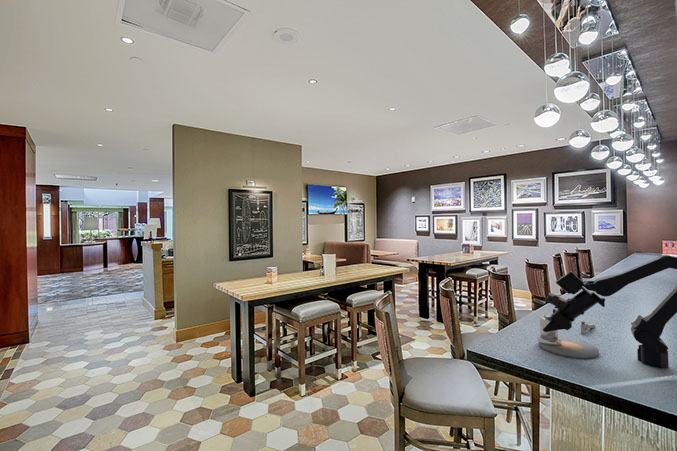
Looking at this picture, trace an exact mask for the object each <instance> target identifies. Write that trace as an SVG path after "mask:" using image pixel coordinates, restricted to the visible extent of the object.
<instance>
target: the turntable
mask: <svg viewBox="0 0 677 451" xmlns="http://www.w3.org/2000/svg"><path fill="white" fill-rule="evenodd" d="M558 338H559V339H561V345H560V346H549V345H544V344H541V343H539V342H538V345H539V347H540V348H541V349H543V350H545V351H547V352H549V353H551V354H555V355H559V356H563V357H568V358H575V359H594V358H595V359H596V358H597V357H599V356H600V350H599V349H598V347H597V346H595V345H592V344H591V343H588V342H585V341H582V340H578V339H575V338H574V339H573V338H568V337H562V336H560V337H559V336H558Z"/></svg>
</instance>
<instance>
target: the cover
mask: <svg viewBox="0 0 677 451" xmlns="http://www.w3.org/2000/svg"><path fill="white" fill-rule="evenodd" d="M551 320H552V319H551V315H549V314H548V315H547V314H545V315H543V316H540V317H539V335H537V337H536V338H537V342H538V344H539V343H541V344H544V345H549V346H560V345H561V339H559V338H558V337H559V336H558V335H559V334H558V333H559V330H555V331H549V332H544V331H543V329H544V328H545V326H546V325H547V324H548V323H549V322H550V321H551Z"/></svg>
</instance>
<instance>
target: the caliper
mask: <svg viewBox="0 0 677 451" xmlns="http://www.w3.org/2000/svg"><path fill="white" fill-rule="evenodd" d="M595 327H596V326H595V324H591V323H590V324H587V323H586V321H581V323H580V335H585V334H586V333H587V332H588V331H589V329H594V328H595ZM586 331H587V332H586Z"/></svg>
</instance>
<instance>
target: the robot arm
mask: <svg viewBox="0 0 677 451" xmlns="http://www.w3.org/2000/svg"><path fill="white" fill-rule="evenodd" d="M667 269H673V270H677V256H673V255H669V254H662V255H659V256H657V257H656V258H654V259H651V260H649V261H646V262H643V263H642V264H639V265H637V266H635V267H632V268H629V269H628V270H625V271H622V272H619V273H616V274H610V275H606V276H602V277H598V278H597V279H595V280H584V281H583V280H582V279H581V278H579V277H578V276H577V275H576V274H575V273H574V272H573V271H572V270H570V271H569V272H567V273H566V274H564V275H562V276H561V277H559V278H558V279H557V280H556V281H555V284H556V285H558V286H559V287H560V289H562V290H563V291H565V292H566V293H567V294H568V295H569V294H571V295H574V296H573V297H571V298H567V299H565V298H563V297H561V296H559V295H556V294H555V293H552V292H549V293H548V294H547V297H546V298H545V300H544V302H546V303H547V304H551V305H552V306H554V308H553V309H552V313H551V315H550V316H551V319H552V320H551V321H550V322H549V323H548V324H547V325H546V326H545V328H544V329H543V331H544V332H549V331H555V330H558V331H560V330H566V331H569V330H570V329H572V327H573V326H572V325H573V323H574V321H575V320H576V319H577V318H578V317H579V316H581V315H582V316H583V315H584V314H585V312H587V311H588V310H590V309H591V308H592V307H593V306H595V305H597V304H598V305H600V306H601V307H603V308H605V302H606V298H605V297H610V296H612V295H614V294H615V293H617V292H619V291H621V290H622V289H624V288H625V287H626V286H627V285H629V284H632V283H635V282H637V281H640V280H642V279H644V278H645V279H646V278H647V277H650V276H653V275H655V274H657V273H660V272H662V271H664V270H667ZM590 291H591V292H590ZM575 294H576V295H575ZM600 296H601V297H600ZM676 314H677V285H676V286H675V287H674V289H673V290H672V291H671V292H670V293H669V294H668V295H667V296H666V297H665V298H664V299H663V300H662V301H661V303H660V304H658V306H657V307H655V309H654V310H653V311H652V312H651V313H650V314H648V315H646V316H642V315H641V314H639V315H638V316H637V318H636V319H635V320H634V321H633V322H632V321H631V323H630V324H631V327H630V331H631V334H632V336H633V338H634V339H635V341H636V342H637V343H638V348H637V350H636V351H637V352H636V353H637V361H639V362H641V364H643V365H645V366H648V367H652V368H657V369H660V370H664V369H669V351H668V350H669V347H668V346H667V344H666V343H665V342H664V340H663V339H662V338H660V337H661V336H662V334H663V331H664V329H665V327H666V324H667V323H668V322H669V321H671V319H673V317H674V316H675V315H676Z"/></svg>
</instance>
